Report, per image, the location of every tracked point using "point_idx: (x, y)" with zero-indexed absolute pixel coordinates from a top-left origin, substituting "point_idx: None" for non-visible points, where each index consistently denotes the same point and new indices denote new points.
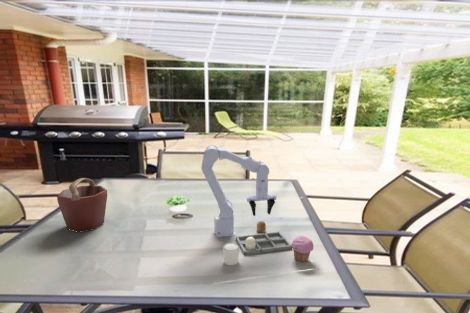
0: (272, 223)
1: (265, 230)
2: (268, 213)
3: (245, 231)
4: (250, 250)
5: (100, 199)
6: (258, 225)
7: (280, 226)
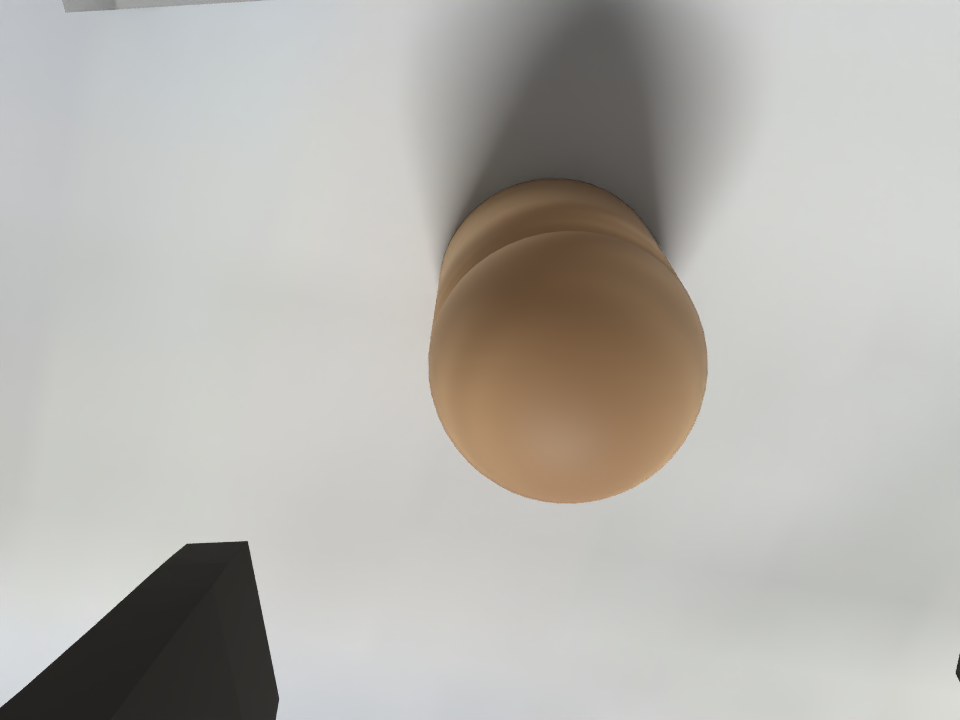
0: None
1: (450, 256)
2: (249, 607)
3: (905, 396)
4: None
5: None
6: (688, 313)
7: (11, 492)
